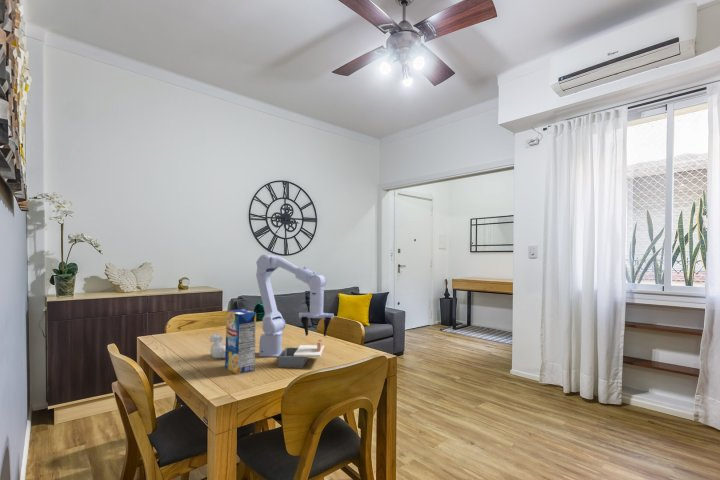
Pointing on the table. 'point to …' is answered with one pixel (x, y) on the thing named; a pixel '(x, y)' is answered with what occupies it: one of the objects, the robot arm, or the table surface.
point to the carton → (290, 358)
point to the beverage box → (240, 341)
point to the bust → (217, 346)
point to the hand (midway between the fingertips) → (315, 335)
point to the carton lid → (310, 350)
